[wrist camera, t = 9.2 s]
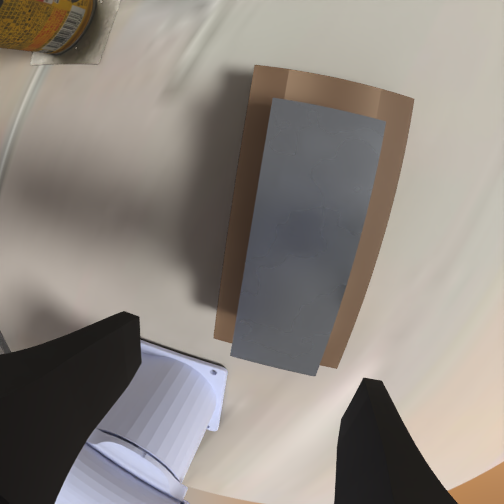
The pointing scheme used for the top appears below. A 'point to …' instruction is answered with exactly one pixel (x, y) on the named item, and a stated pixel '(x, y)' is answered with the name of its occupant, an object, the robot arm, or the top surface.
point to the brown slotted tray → (248, 171)
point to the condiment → (57, 29)
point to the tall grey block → (304, 232)
